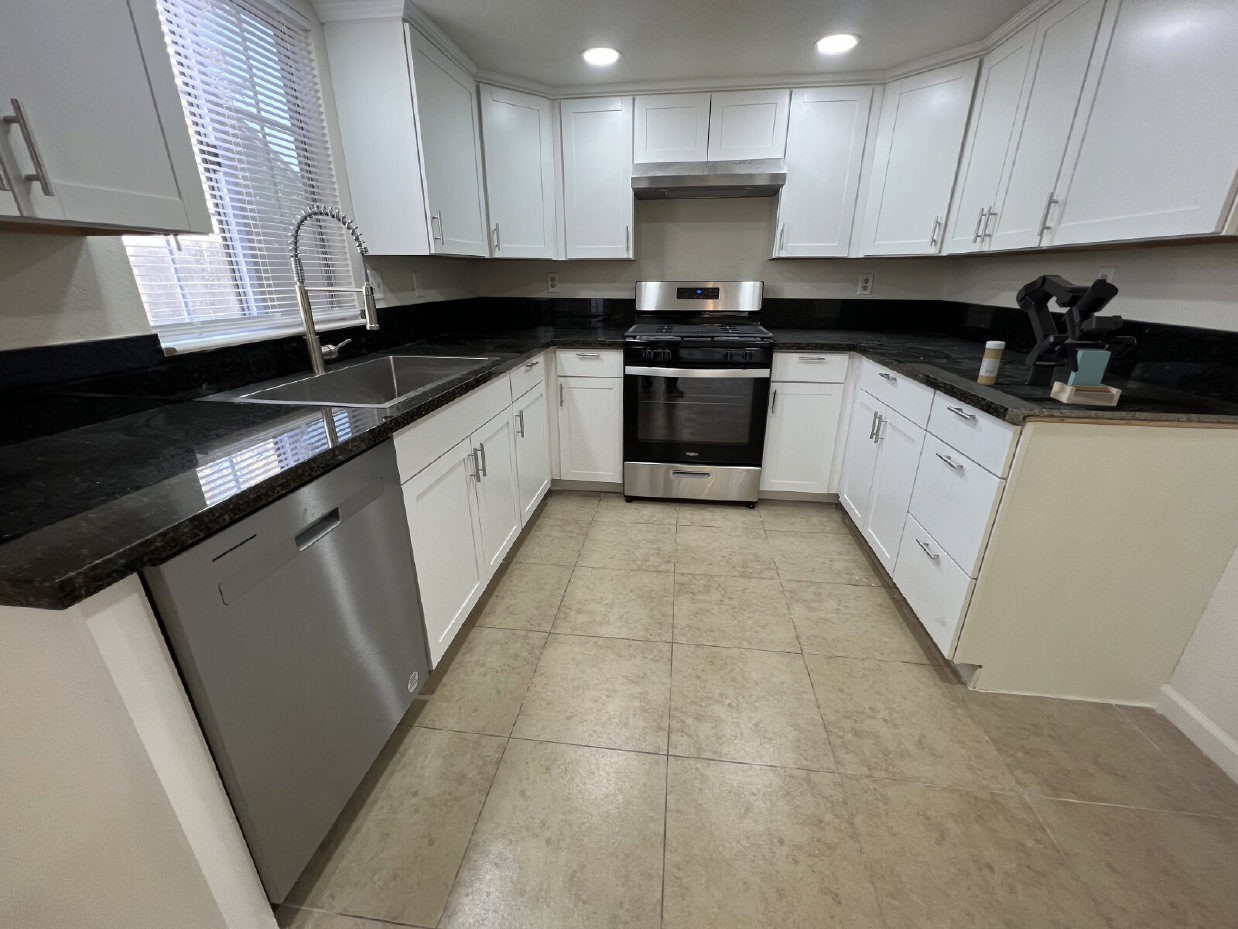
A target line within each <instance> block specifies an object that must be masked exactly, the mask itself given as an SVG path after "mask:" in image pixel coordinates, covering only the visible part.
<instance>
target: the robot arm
mask: <svg viewBox="0 0 1238 929" xmlns="http://www.w3.org/2000/svg"><path fill="white" fill-rule="evenodd" d="M1118 294H1119V288H1118V287H1117V286H1115V284H1113V283H1111V282H1109V281H1107V279H1106V278H1097V279H1095V281H1093V282H1092V285H1080V284H1079V285H1078V284H1074V283H1073V282H1070V281H1068V280H1066V279H1065V278H1063V277H1062V276H1061V275H1059V274H1042V275H1039V276H1038V277H1037V278H1036V279H1034V280H1032V281H1030V282H1028V283H1026V284H1024V285H1023V286H1022V287H1021V289H1019V290H1018V292H1017V294H1016V295H1015V301H1016V304H1017V305H1018V307H1019V309H1021V310H1023V311H1024V312H1025V313H1026V312H1027V313H1028V317H1029V319H1030V323H1031V326H1032V329H1033V332H1034V335H1035V339H1036V342H1037V343H1036V344H1035V346H1034V347H1033V349H1032V350H1031V351H1030V352H1029V353H1028V354H1027V356H1026V357H1025V365H1027V366H1031V369H1030V373H1029V376H1028V380H1027V381H1026V382H1025V383H1024V385H1033V386H1039V387H1041V386H1043V387H1045V386H1054V383H1053V380H1054V377H1055V374H1056V371H1057V368H1066V367H1067V368H1068V369H1069V370H1071V372H1072V371H1073V372H1075V373H1076V372H1077V371H1078V363H1077V358H1076V357H1077V353H1076V350H1078V351H1079V350H1086V351H1108V352H1111V354H1110V357H1109V360H1108V363H1107V366H1106V368H1105V371H1104V374H1107V373H1108V372H1109V370H1110V367H1111V364H1112V361H1113V358H1121V357H1124V356H1126V354H1127V353H1129V352H1130V351H1131V350H1132V349H1133V348H1135V346H1137V340H1136V338H1135V336H1120V335H1119V336H1113V338H1112V339H1111V340H1110V341H1101V339H1104V338H1106V336H1107V332H1109V331H1113V330H1118V329H1120V328H1121V327H1122V326H1123V325H1124V319H1123V317H1122V315H1117V314H1116V315H1115V314H1113V315H1111V316H1110V315H1109V316H1108V315H1106V316H1105V315H1095V313H1100V312H1101V311H1103V309H1104V308H1105V307H1107V305H1108V304H1110V302H1111V301H1112V300H1113V299H1114V298H1115V297H1116V296H1117V295H1118ZM1053 298H1055V301H1054V302H1055V304H1056V305H1057V307H1058V308H1060V309H1063V308H1064V309H1066V308H1067V310H1066V312H1064V316H1063V317H1062V318H1061V323H1066V326H1067V332H1066V333H1058V331H1057V327H1056V325H1055V322H1054V319H1053V317H1052V314H1051V311H1050V308H1049V306H1048V304H1049V303H1050V301H1051V300H1052V299H1053ZM1104 374H1103V375H1104Z"/></svg>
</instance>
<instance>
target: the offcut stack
mask: <svg viewBox="0 0 1238 929" xmlns="http://www.w3.org/2000/svg"><path fill="white" fill-rule="evenodd" d="M1069 386H1071V387H1074V388H1076V389H1075V391H1079V392H1100V393H1110V390H1108V389H1107V387H1104V386H1082V385H1069Z"/></svg>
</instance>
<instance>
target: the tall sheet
mask: <svg viewBox="0 0 1238 929" xmlns="http://www.w3.org/2000/svg"><path fill="white" fill-rule="evenodd" d="M1110 354H1111V352H1108V351H1099V350H1078V351H1077V353H1076V358H1077V363H1078V371H1077V372H1076V373H1075V372H1073V371H1072V370H1071V373H1070V376H1069V378H1068V381H1067V384H1066V385H1082V386H1099V385H1100V384H1102V383H1101V382H1102V381H1103V380H1102V379H1103V376H1104V371H1105V368H1106V366H1107V363H1108V360H1109V357H1110Z"/></svg>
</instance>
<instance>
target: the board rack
mask: <svg viewBox="0 0 1238 929" xmlns="http://www.w3.org/2000/svg"><path fill="white" fill-rule="evenodd" d="M1053 384H1054V385H1052V390H1051V393H1050V397H1051V398H1053V399H1055V400H1058V401H1060V402H1062V403H1065V404H1070V405H1071V404H1074V405H1089V406H1090V405H1091V406H1092V405H1093V406H1094V405H1095V406H1112V407H1116V406H1117V404H1118V401H1119V398H1120V395H1121V393H1122V390H1121V389H1119V388H1116V387H1112V386H1109V385H1107V384H1104V383H1100V385H1099V386H1104V387H1107V389H1108V390H1110V393H1100V392H1079V391H1075V389H1076V388H1074V387H1071V386H1069V385H1067V384H1066V383H1064V382H1060V381H1054V383H1053Z"/></svg>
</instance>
